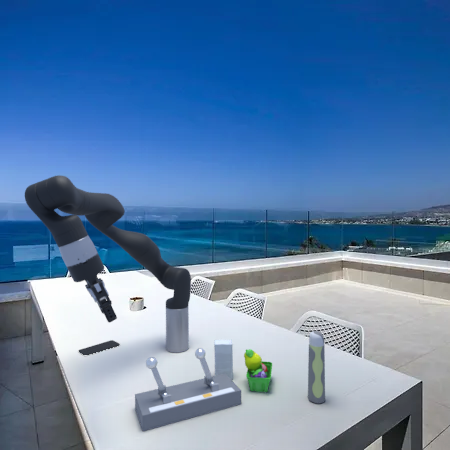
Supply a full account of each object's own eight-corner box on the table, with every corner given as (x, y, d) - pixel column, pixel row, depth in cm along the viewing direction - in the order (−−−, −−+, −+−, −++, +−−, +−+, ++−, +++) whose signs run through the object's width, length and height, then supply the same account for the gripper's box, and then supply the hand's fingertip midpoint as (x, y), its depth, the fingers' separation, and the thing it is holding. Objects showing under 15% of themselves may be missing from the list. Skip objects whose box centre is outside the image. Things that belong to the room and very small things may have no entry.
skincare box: (232, 373, 112) (232, 339, 111) (232, 380, 107) (232, 344, 107) (214, 374, 111) (214, 339, 111) (214, 380, 107) (214, 344, 107)
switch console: (135, 408, 92) (134, 387, 91) (225, 386, 103) (225, 367, 103) (142, 431, 82) (142, 407, 82) (241, 403, 94) (241, 383, 93)
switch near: (158, 396, 91) (143, 358, 89) (168, 390, 92) (153, 352, 90) (162, 403, 87) (145, 364, 85) (172, 397, 88) (156, 358, 86)
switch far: (205, 385, 97) (191, 349, 95) (214, 379, 98) (200, 344, 96) (210, 391, 93) (196, 354, 91) (219, 386, 94) (205, 349, 92)
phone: (77, 350, 131) (112, 339, 142) (77, 352, 131) (112, 341, 142) (84, 355, 126) (120, 344, 137) (84, 357, 126) (120, 346, 137)
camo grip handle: (306, 394, 98) (306, 329, 98) (323, 395, 98) (323, 329, 97) (309, 403, 93) (309, 334, 93) (326, 404, 93) (326, 335, 92)
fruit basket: (271, 395, 98) (271, 358, 98) (242, 392, 100) (241, 356, 99) (272, 377, 109) (272, 343, 109) (246, 374, 111) (246, 342, 111)
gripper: (64, 262, 83) (91, 316, 86) (68, 269, 71) (99, 332, 74) (92, 249, 86) (118, 302, 90) (101, 253, 74) (130, 315, 77)
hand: (109, 315), depth 82 cm, fingers open, 8 cm apart
